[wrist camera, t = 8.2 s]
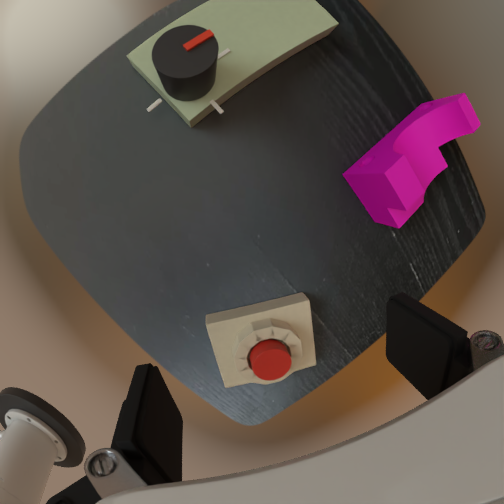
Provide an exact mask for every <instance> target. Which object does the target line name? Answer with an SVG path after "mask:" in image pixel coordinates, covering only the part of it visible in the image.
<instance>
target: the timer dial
mask: <svg viewBox="0 0 504 504" xmlns="http://www.w3.org/2000/svg"><path fill="white" fill-rule="evenodd" d="M218 51H219V46H218V42H217V39H216V38H215V36H214V33H213V32H212V31H211V30H210V29H209V30H207V29H205V28H203V27H200V26H196V25H182V26H177V27H174V28H172V29H170V30H168V31H166V32H165V33H163V34H162V35H161V36H160V37H159V38H158V39H157V41H156V42H155V44H154V46H153V49H152V61H153V64H154V67H155V69H156V71H157V74H158V76H159V78H160V80H161V83H162V85H163V87H164V89H165V91H166V93H167V94H168V95H169V96H171V97H172V98H174V99H176V100H180V101H193V100H197V99H199V98H202V97H203V96H205V95H206V94H207V93H208V92H209V91H210V90H211V89H212V87H213V85H214V83H215V78H216V68H217V60H218Z"/></svg>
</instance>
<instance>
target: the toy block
mask: <svg viewBox="0 0 504 504" xmlns="http://www.w3.org/2000/svg"><path fill="white" fill-rule="evenodd" d="M479 126H480V122H479V120H478V118H477V116H476V113H475V112H474V110H473V108H472V106H471V104H470V102H469V100H468V98H467V96H466V94H465V93H461V94H457V95H453V96H449V97H445V98H441V99H437V100H434V101H430V102H426V103H423V104H421V105H419V106H418V107H417V108H416V109H415V110H414V111H413V112H412V113H411V114H409V115H408V116H407V117H406V118H405V119H404V120H403V121H402V122H400V123H399V124H398V125H397V126H396V127H395V128H394V129H393V130H392V131H390V132H389V133H388V134H387V135H386V136H385V137H384V138H383V139H381V140H380V141H379V142H378V143H377V144H376V145H375V146H374V147H372V148H371V149H370V150H369V151H368V152H367V153H366V154H365V155H364V156H362V157H361V158H360V159H359V160H358V161H357V162H356V163H355V164H353V165H352V166H351V167H350V168H349V169H348V170H347V171H346V172H344V173H343V174H342V175H343V176H344V178H345V179H346V181H347V182H348V183H349V185H350V186H351V188H352V189H353V190H354V192H355V193H356V195H357V196H358V198H359V199H360V201H361V202H362V204H363V205H364V207H365V208H366V210H367V211H368V213H369V214H370V216H371V217H372V219H373V220H374V222H377V223H380V224H384V225H388V226H392V227H395V228H400V227H401V226H402V225H403V224H404V223H405V222H406V221H407V220H408V219H409V218H410V216H411V215H412V214H413V213H414V212H415V211H416V210H417V209H418V208H419V207H420V205H421V204H422V203H423V202H424V193H425V191H426V189H427V187H428V185H429V184H430V182H431V181H432V180H433V179H434V178H435V177H436V176H437V175H438V174H439V173H440V172H441V171H442V170H444V169H445V168H447V167H448V166H447V164H446V162H445V160H444V158H443V156H442V154H441V152H440V150H439V148H438V147H439V146H441V145H443V144H444V143H446V142H448V141H450V140H452V139H455V138H457V137H460V136H463V135H466V134H471V133H474V132H475V131H476V130H477V128H478V127H479Z"/></svg>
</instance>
